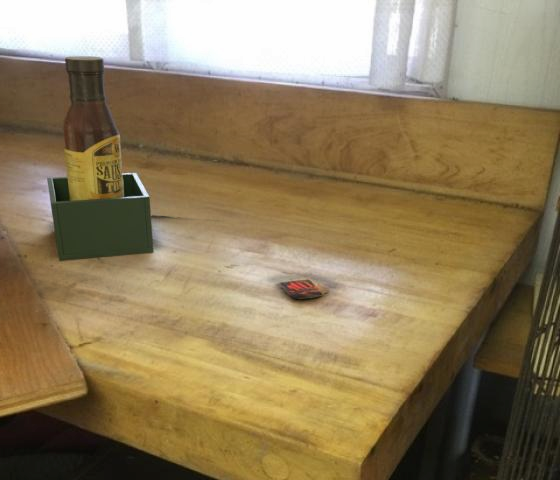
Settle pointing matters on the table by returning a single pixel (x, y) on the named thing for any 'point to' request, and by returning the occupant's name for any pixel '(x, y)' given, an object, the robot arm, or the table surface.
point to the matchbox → (303, 288)
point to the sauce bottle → (91, 134)
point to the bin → (101, 221)
